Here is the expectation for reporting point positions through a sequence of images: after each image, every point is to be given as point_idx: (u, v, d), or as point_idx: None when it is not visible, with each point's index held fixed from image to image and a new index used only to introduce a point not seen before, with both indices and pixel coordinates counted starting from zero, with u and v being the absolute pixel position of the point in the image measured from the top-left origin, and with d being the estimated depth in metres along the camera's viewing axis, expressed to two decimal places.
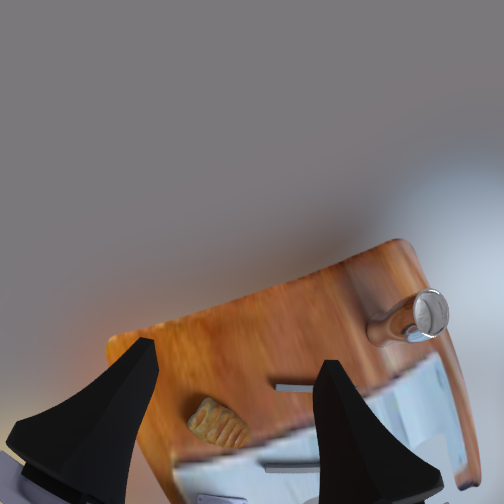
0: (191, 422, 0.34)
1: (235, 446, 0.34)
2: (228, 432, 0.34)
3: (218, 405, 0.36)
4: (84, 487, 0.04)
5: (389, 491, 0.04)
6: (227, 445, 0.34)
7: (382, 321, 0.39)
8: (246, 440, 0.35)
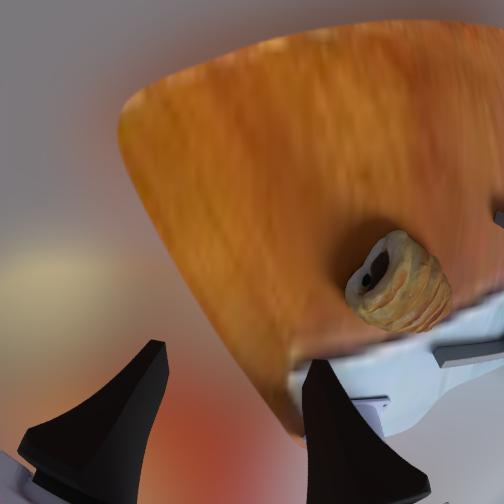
0: (369, 302, 0.16)
1: (424, 330, 0.18)
2: (430, 313, 0.16)
3: (426, 254, 0.15)
4: (99, 493, 0.04)
5: (372, 495, 0.04)
6: (414, 332, 0.18)
7: None
8: None
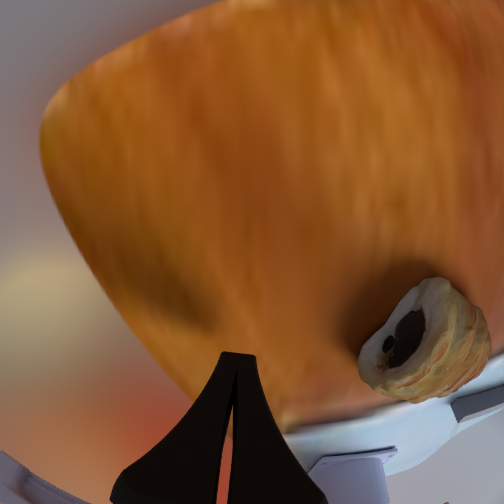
0: (391, 383, 0.10)
1: (452, 391, 0.12)
2: (465, 379, 0.10)
3: (474, 312, 0.09)
4: None
5: (243, 503, 0.04)
6: None
7: None
8: None
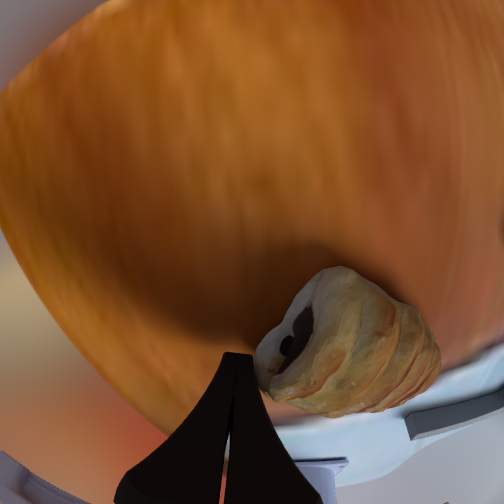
0: (275, 392, 0.09)
1: None
2: (398, 396, 0.10)
3: (391, 313, 0.08)
4: None
5: (237, 503, 0.04)
6: None
7: None
8: None
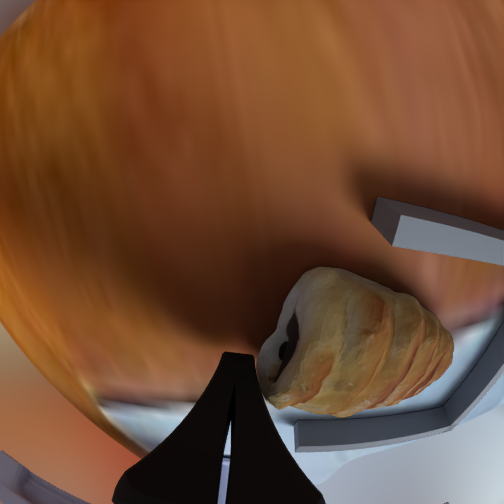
0: (275, 399, 0.09)
1: None
2: (408, 387, 0.09)
3: (378, 308, 0.08)
4: None
5: (240, 502, 0.04)
6: None
7: None
8: None
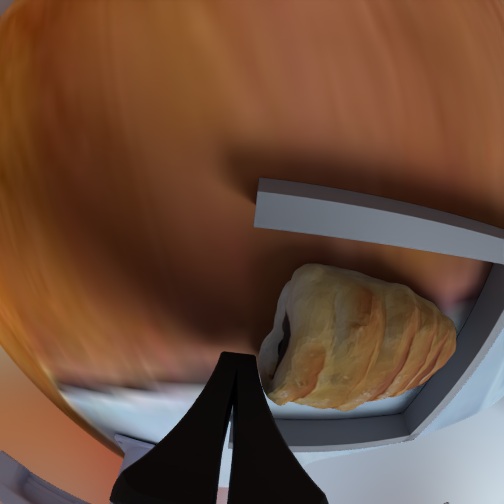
0: (274, 396, 0.09)
1: None
2: (409, 377, 0.09)
3: (366, 300, 0.08)
4: None
5: (243, 503, 0.04)
6: None
7: None
8: None
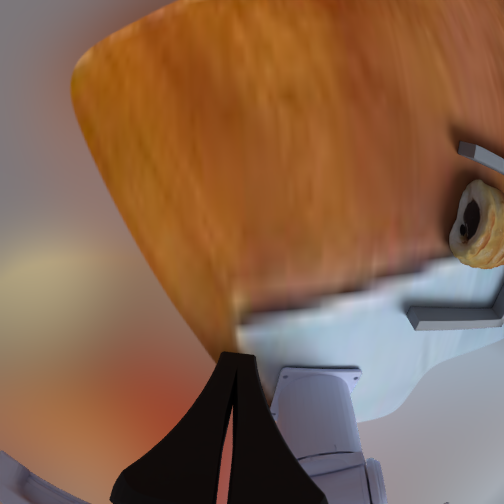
0: (474, 246, 0.15)
1: None
2: None
3: (502, 193, 0.14)
4: None
5: (243, 503, 0.04)
6: None
7: None
8: None
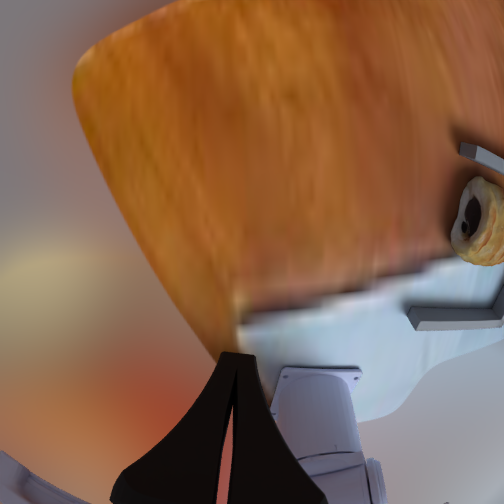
0: (476, 243, 0.15)
1: None
2: None
3: (502, 190, 0.14)
4: None
5: (244, 503, 0.04)
6: None
7: None
8: None
